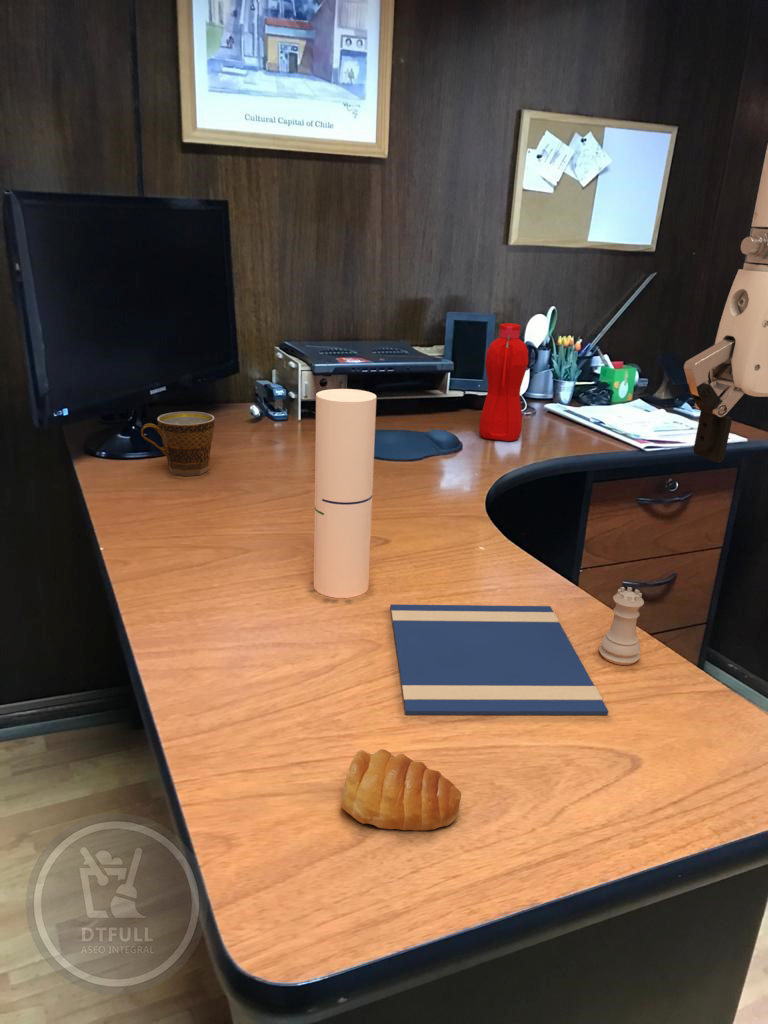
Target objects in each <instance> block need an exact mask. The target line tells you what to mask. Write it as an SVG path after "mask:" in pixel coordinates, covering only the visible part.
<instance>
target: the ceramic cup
mask: <svg viewBox="0 0 768 1024" xmlns="http://www.w3.org/2000/svg"><path fill="white" fill-rule="evenodd" d="M156 421H157V424H154V423H152V422H151V423H150V422H149V423H145V424H144V425H143V426H142V427H141V429H140V435H141V437H142V438H143V439H144V440H145V441H147V442H148V443H149V444H152V445H153V446H155V447H156V448H157V449H158V450H159V451H161V452H162V454H163V455H164V456H165V457H166V460H167V465H168V468H169V472H170V473H171V475H173V476H179V477H184V478H187V477H196V476H201V475H203V474H205V473H207V472H208V470H209V464H210V458H211V451H212V441H213V437H214V431H215V424H216V423H215V421H216V418H215V416H214V415H212V414H210V413H207V412H203V411H202V412H201V411H189V410H188V411H174V412H168V413H164V414H163V413H162V414H160V415H159V416H157V418H156ZM147 428H152V429H154V430H155V431H156V432H157V433H158V434H159V436H160V437H161V440H162V444H163V446H160V445H158V444H157V443H156V442H154V441H153V440H151V439H150V438H148V437H146V436H145V434H144V430H145V429H147Z"/></svg>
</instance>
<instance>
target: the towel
mask: <svg viewBox="0 0 768 1024" xmlns="http://www.w3.org/2000/svg"><path fill="white" fill-rule="evenodd" d="M389 609H390V615H391V623H392V629H393V630H392V631H393V636H394V644H395V651H396V657H397V664H398V665H397V666H398V672H399V679H400V686H401V694H402V700H403V707H404V714H405V715H406V716H608V715H609V710H608V708H607V706H606V704H605V702H604V701H603V700H604V699H603V696H602V695H601V693H600V691H599V690H598V688H597V686H596V685H595V684H594V682H593V681H592V679H591V677H590V675H589V673H588V672H587V670H586V668H585V666H584V665H583V663H582V661H581V659H580V657H579V655H578V653H577V652H576V650H575V648H574V647H573V644H572V643H571V641H570V639H569V637H568V636H567V633H566V632H565V630H564V628H563V626H562V625H561V622H560V620H559V618H558V616H557V615H556V612H554V610H553V608H552V607H551V605H485V604H484V605H483V604H481V605H479V604H477V605H476V604H475V605H474V604H473V605H472V604H471V605H469V604H392V603H391V604H390V608H389ZM405 715H404V716H405Z"/></svg>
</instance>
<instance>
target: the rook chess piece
mask: <svg viewBox="0 0 768 1024" xmlns="http://www.w3.org/2000/svg"><path fill="white" fill-rule="evenodd" d="M625 589H626V590H625ZM642 597H643V593H642V592H641V590H639V589H638V588H637V589H634V591H633V587H630V586H627V588H625V587H624V586H621V587H619V588H618V589H617V592H616V593H615V594H614V595H613V596H612V598H613V601H614V603H615V604H616V605H615V607H614V608H613V609H612V612H613V614H614V615H613V620H612V622H611V625H610V628H609V630H607V631H606V632H605V633H606V634H605V635H604V636H602V638H601V640H600V646H599V647H598V651H599V653H600V655H601V656H602V658H603V659H604V660H606V661H607V662H609V663H611V664H614V665H619V666H630V665H633V664H635V663H636V662H637V661H638V660H640V658H641V654H640V652H641V643H640V642H639V637H638V636H637V622H638V620H637V619H638V618H639V617H640V612H639V609H640V608H641V607H643V605H644V604H645V600H644V598H642Z"/></svg>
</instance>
